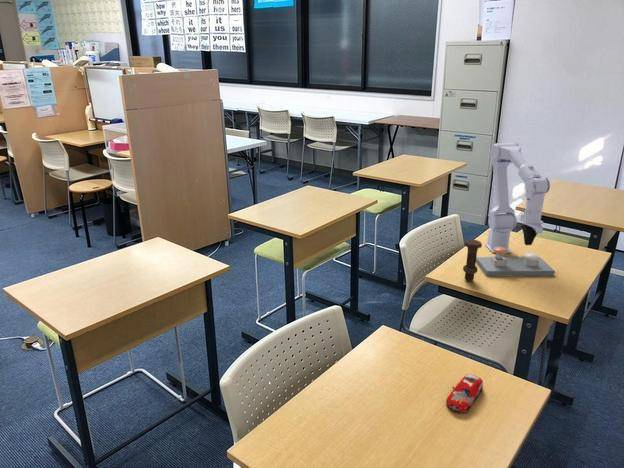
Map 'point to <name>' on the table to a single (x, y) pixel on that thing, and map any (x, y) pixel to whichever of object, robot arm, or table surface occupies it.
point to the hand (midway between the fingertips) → (527, 244)
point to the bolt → (471, 259)
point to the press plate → (514, 266)
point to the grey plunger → (531, 256)
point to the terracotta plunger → (500, 252)
